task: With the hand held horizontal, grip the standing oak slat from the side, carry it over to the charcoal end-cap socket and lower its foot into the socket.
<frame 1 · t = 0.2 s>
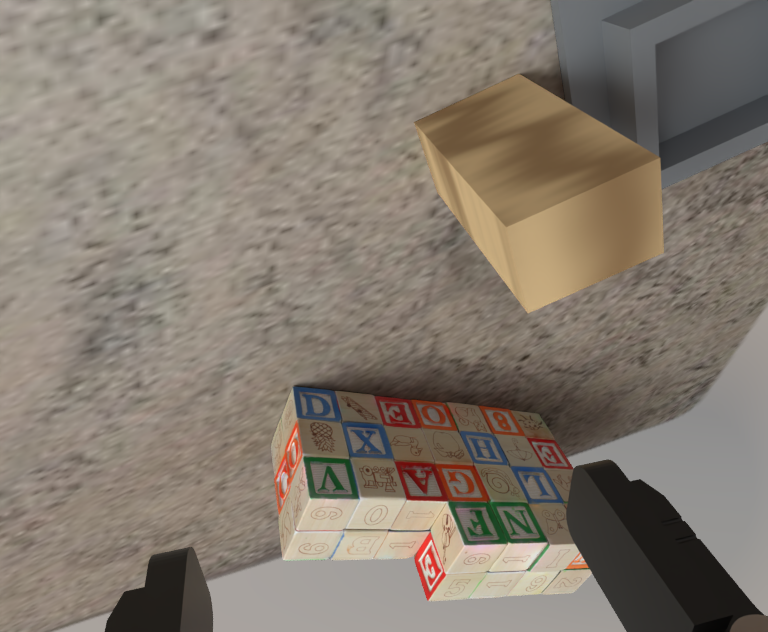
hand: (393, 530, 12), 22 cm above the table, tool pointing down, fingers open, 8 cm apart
end cap: (692, 62, 32), on the table
stack of blocks: (412, 425, 45), on the table
slat: (476, 135, 31), on the table
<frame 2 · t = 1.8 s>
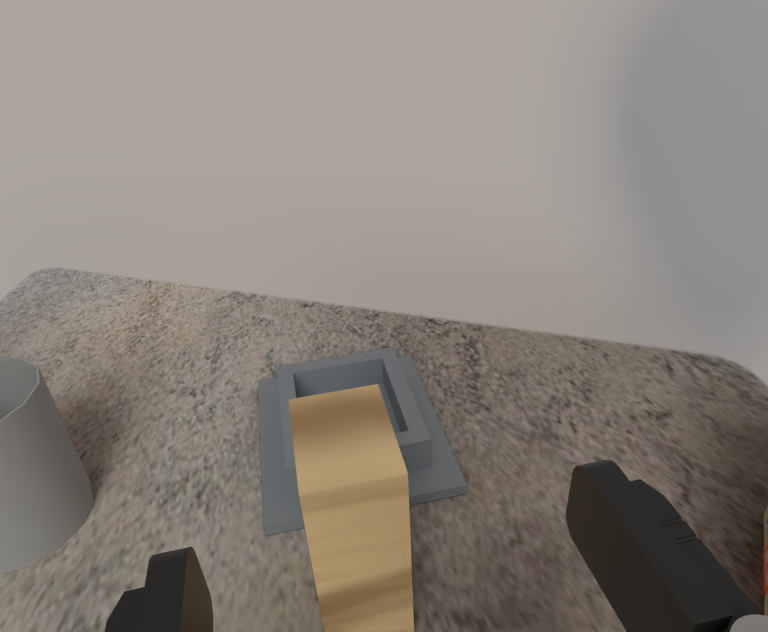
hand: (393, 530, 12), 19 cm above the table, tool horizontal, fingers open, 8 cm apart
end cap: (350, 433, 42), on the table
cup: (26, 520, 37), on the table
slat: (362, 595, 31), on the table
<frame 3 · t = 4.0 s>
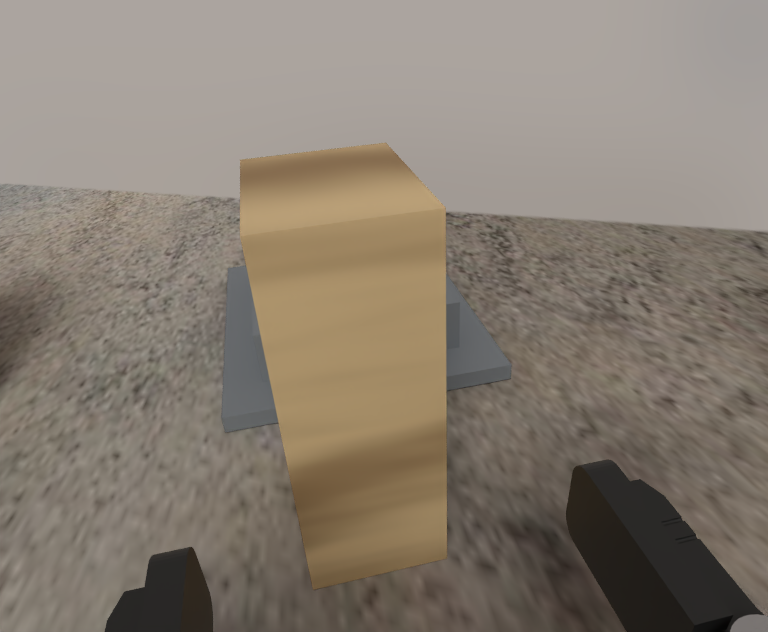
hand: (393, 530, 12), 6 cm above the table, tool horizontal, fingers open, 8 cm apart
end cap: (346, 320, 32), on the table
slat: (364, 501, 21), on the table
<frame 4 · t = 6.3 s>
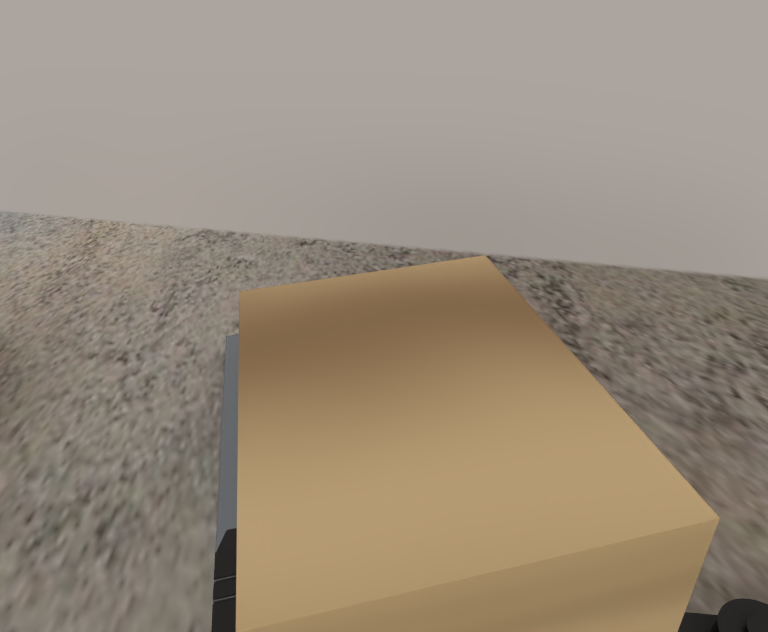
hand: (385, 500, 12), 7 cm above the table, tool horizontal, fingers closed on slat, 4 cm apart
end cap: (377, 418, 25), on the table
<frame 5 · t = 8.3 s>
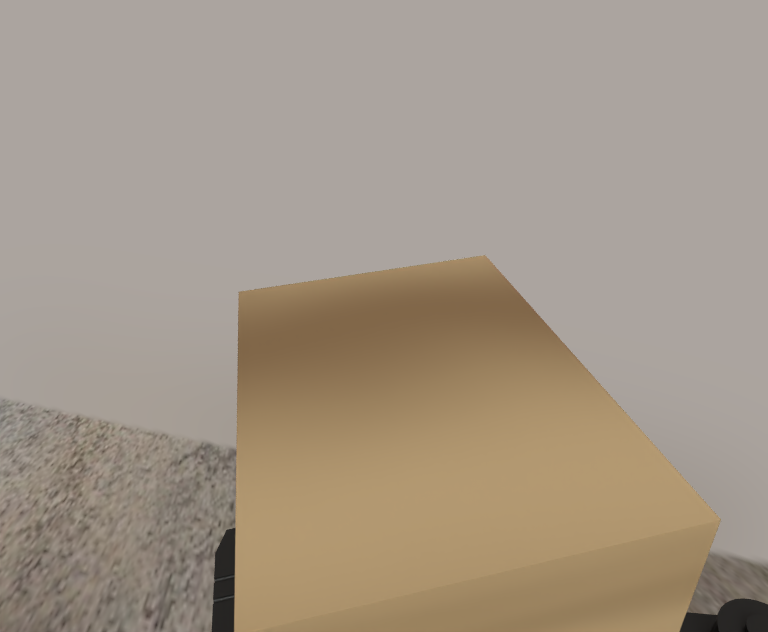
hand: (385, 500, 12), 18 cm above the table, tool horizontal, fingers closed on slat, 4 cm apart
when the fingers open (8 cm above the table, at t = 10.6 s): slat drops 1 cm, resting on end cap.
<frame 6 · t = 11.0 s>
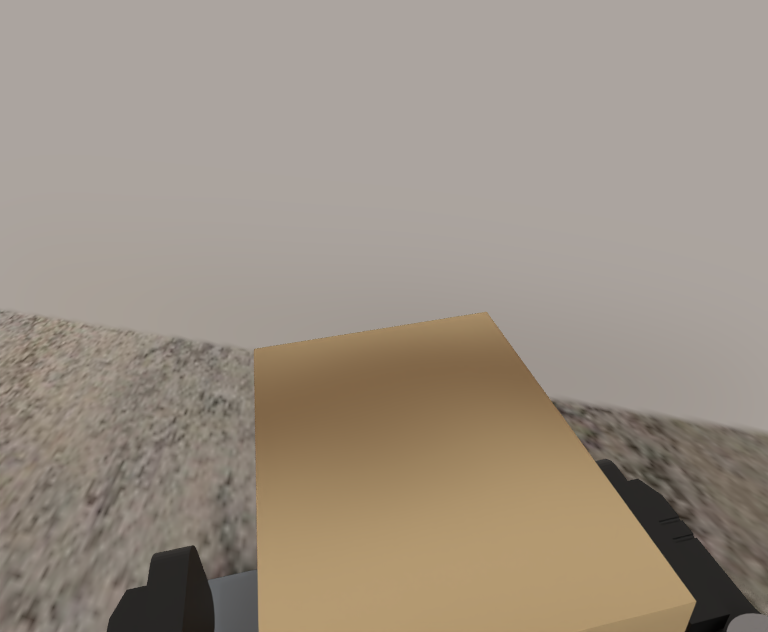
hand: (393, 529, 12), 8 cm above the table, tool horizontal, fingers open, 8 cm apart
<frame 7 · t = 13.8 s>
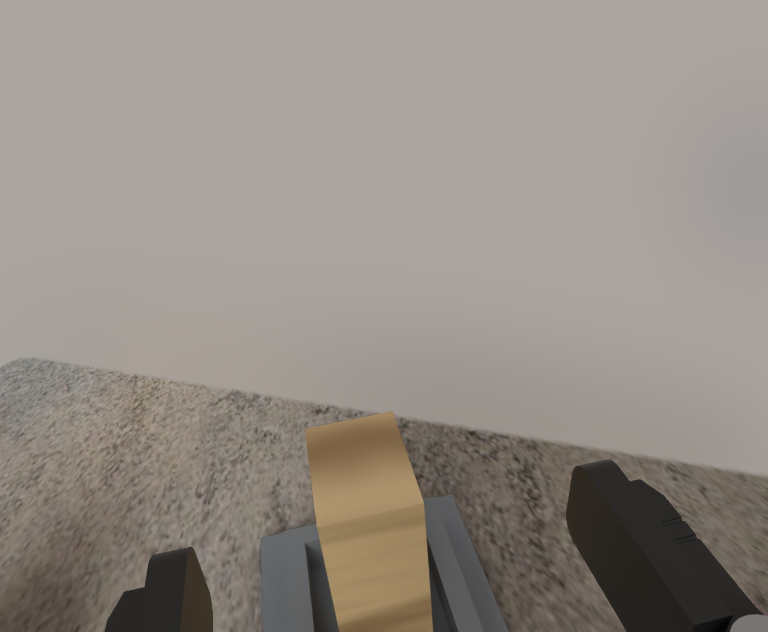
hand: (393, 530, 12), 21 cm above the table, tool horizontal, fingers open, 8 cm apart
end cap: (382, 629, 32), on the table
slat: (382, 620, 31), point 1 cm above the table, touching end cap
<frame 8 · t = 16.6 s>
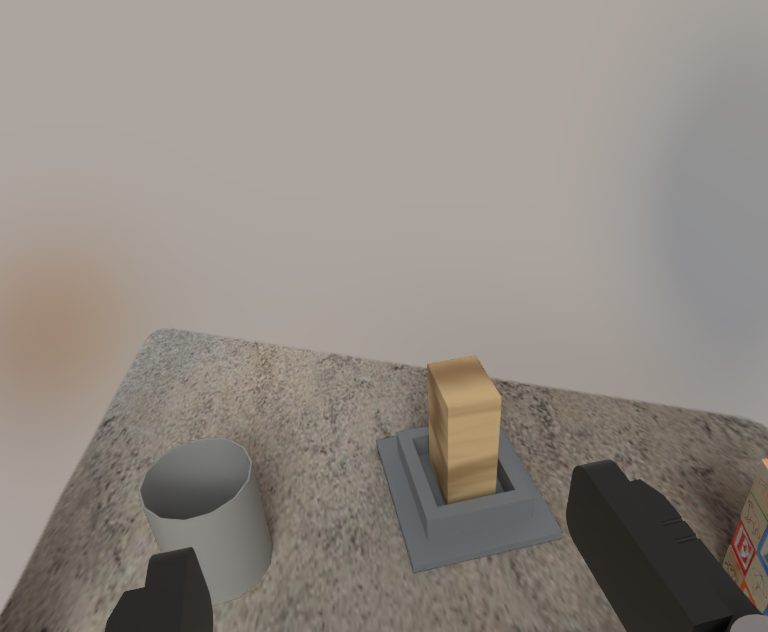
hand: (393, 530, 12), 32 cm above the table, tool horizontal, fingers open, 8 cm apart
end cap: (460, 487, 53), on the table
cup: (223, 560, 49), on the table
slat: (460, 481, 53), point 1 cm above the table, touching end cap
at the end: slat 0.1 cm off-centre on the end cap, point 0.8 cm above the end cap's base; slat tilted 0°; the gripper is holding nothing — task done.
